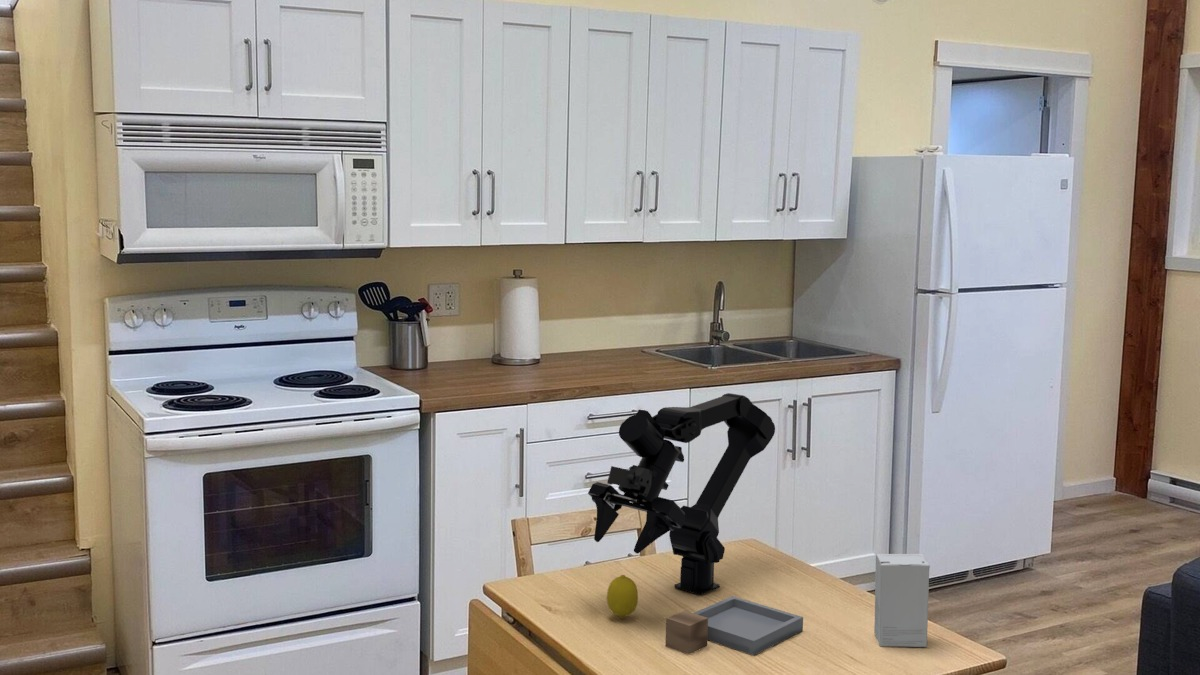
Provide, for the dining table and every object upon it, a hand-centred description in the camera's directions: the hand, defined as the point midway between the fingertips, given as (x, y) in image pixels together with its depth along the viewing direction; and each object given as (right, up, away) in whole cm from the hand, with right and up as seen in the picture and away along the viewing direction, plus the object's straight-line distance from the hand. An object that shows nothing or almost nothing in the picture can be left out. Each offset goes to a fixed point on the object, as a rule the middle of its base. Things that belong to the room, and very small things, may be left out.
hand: (615, 546), depth 208 cm
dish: (+22, -14, -2) cm, 26 cm away
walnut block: (+12, -15, -9) cm, 21 cm away
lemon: (+1, -14, +3) cm, 14 cm away
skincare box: (+48, -15, -5) cm, 51 cm away
